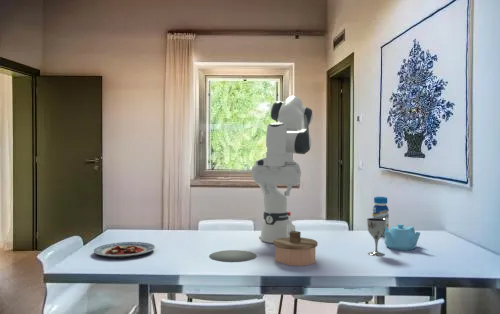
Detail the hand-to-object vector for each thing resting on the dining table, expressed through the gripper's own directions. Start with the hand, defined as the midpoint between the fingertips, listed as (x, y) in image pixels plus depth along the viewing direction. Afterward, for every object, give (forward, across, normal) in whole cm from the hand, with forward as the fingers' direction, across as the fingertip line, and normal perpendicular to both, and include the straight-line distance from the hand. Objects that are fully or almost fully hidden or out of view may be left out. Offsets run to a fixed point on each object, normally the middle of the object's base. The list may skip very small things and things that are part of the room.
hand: (276, 195), depth 173 cm
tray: (+26, +16, +10) cm, 32 cm away
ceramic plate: (+26, +59, +30) cm, 71 cm away
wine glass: (+27, -33, -29) cm, 51 cm away
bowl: (+26, -8, 0) cm, 27 cm away
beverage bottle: (+28, -22, -72) cm, 81 cm away
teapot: (+27, -38, -48) cm, 67 cm away
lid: (+20, -8, 0) cm, 21 cm away
